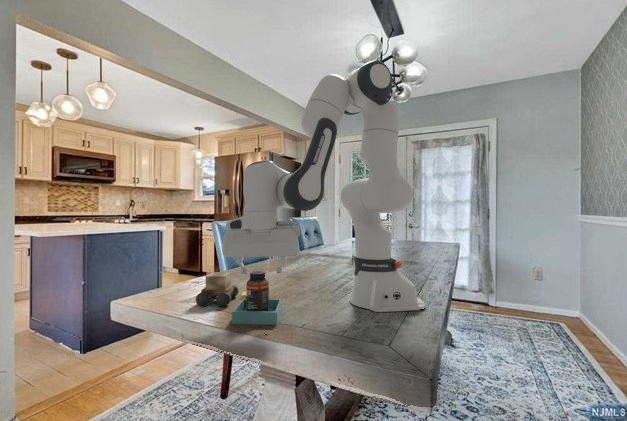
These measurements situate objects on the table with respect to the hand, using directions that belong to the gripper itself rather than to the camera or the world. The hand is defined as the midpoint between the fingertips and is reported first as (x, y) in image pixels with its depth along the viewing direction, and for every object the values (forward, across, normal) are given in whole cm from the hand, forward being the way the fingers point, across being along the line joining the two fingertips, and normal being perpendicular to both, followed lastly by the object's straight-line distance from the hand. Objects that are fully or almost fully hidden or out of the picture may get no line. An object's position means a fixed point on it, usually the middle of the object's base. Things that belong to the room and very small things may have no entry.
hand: (262, 273), depth 82 cm
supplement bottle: (+11, +1, +1) cm, 11 cm away
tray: (+12, +1, 0) cm, 12 cm away
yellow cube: (+12, +6, -8) cm, 15 cm away
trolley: (+11, +16, -12) cm, 23 cm away
